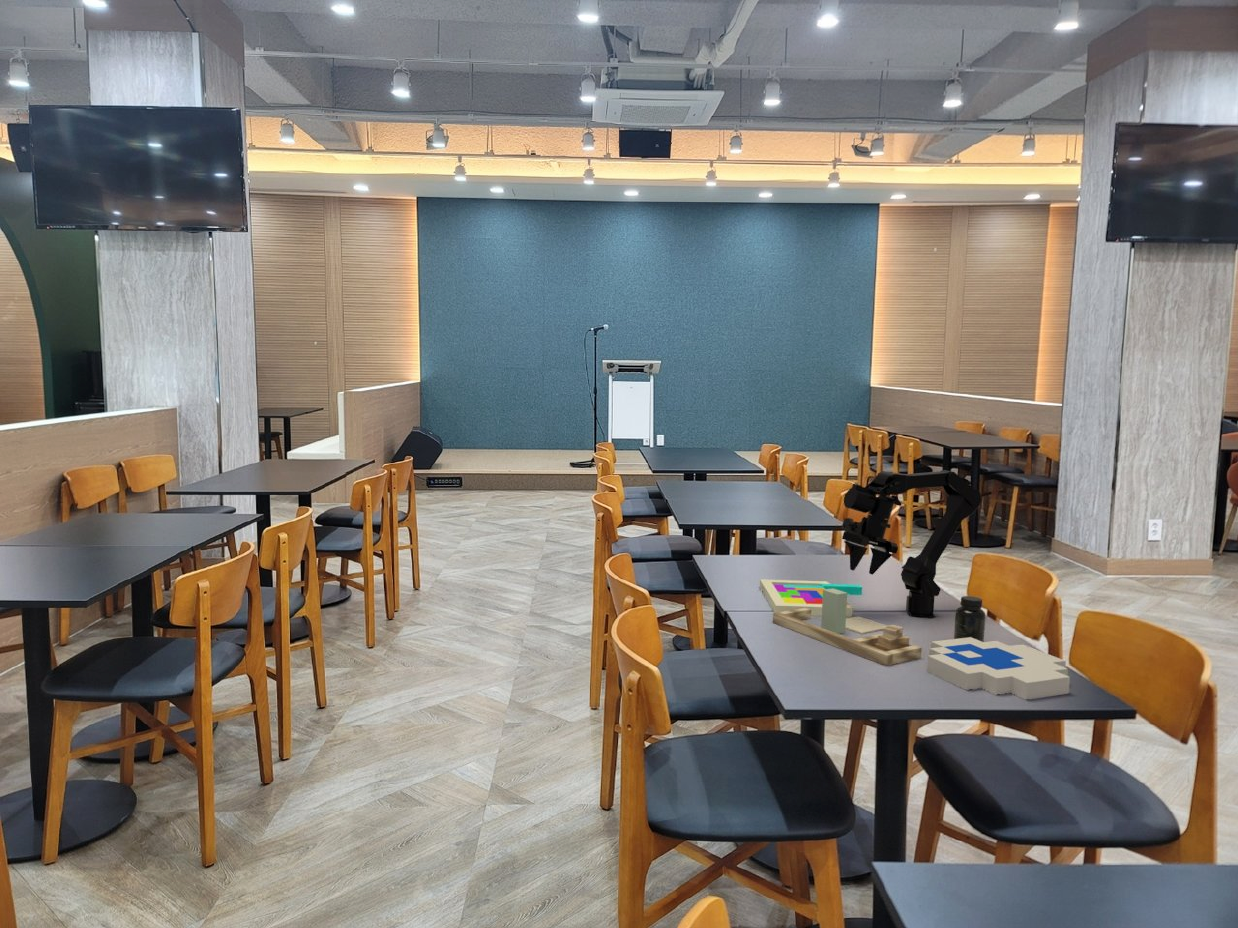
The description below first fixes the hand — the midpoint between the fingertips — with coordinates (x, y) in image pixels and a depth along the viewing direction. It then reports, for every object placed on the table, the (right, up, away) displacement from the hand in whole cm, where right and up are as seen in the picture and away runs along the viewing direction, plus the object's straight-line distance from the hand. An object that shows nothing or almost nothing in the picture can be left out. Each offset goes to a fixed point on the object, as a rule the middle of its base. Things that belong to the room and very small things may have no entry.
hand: (861, 572), depth 229 cm
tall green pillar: (-11, -14, -11) cm, 21 cm away
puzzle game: (-8, -12, +17) cm, 22 cm away
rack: (-10, -15, -18) cm, 25 cm away
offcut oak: (0, -14, -28) cm, 31 cm away
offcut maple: (-1, -12, -28) cm, 30 cm away
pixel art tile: (+18, -18, -40) cm, 48 cm away
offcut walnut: (-1, -16, -27) cm, 32 cm away
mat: (-2, -13, -6) cm, 15 cm away
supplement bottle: (+21, -16, -20) cm, 33 cm away
